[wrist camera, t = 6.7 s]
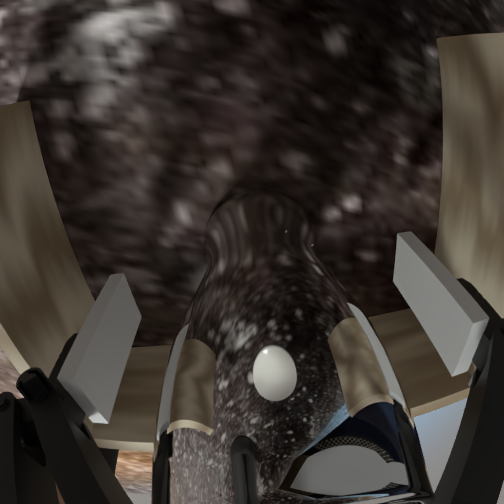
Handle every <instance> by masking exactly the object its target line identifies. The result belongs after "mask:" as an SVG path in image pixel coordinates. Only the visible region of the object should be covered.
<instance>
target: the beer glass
mask: <svg viewBox="0 0 504 504" xmlns="http://www.w3.org/2000/svg"><path fill="white" fill-rule="evenodd" d="M204 251H205V257H206V262H207V269H206V272H205V274H204V276H203V279H202V281H201V283H200V285H199V286H198V288H197V290H196V292H195V294H194V296H193V298H192V300H191V302H190V304H189V306H188V309H187V311H186V313H185V315H184V317H183V319H182V321H181V324H180V326H179V329H178V331H177V334H176V337H175V339H174V342H173V344H172V347H171V350H170V352H169V356H168V360H167V364H166V368H165V372H164V376H163V380H162V385H161V389H160V394H159V401H158V408H157V415H156V422H155V430H154V443H153V458H152V491H151V504H433V503H434V501H435V494H434V493H433V491H432V487H431V483H430V480H429V476H428V472H427V468H426V464H425V460H424V456H423V452H422V448H421V444H420V440H419V436H418V433H417V429H416V426H415V423H414V419H413V416H412V413H411V409H410V406H409V403H408V400H407V397H406V395H405V392H404V389H403V387H402V384H401V382H400V379H399V377H398V374H397V372H396V369H395V367H394V364H393V362H392V360H391V358H390V356H389V354H388V352H387V350H386V348H385V346H384V344H383V342H382V341H381V339H380V337H379V335H378V333H377V331H376V329H375V328H374V326H373V324H372V323H371V321H370V320H369V319H368V317H367V316H366V314H365V313H364V312H363V310H362V309H361V307H360V306H359V305H358V303H357V302H356V300H355V299H354V298H353V296H352V295H351V294H350V293H349V292H348V290H347V289H346V288H345V287H344V286H343V285H342V283H341V282H340V281H339V280H338V279H337V277H336V276H335V275H334V274H333V273H332V272H331V271H330V270H329V269H328V267H327V266H326V265H325V264H324V263H323V262H322V260H321V259H320V258H319V257H318V255H317V253H316V250H315V237H314V231H313V227H312V224H311V221H310V219H309V217H308V216H307V214H306V212H305V211H304V210H303V209H302V208H301V207H300V206H299V205H298V204H297V203H296V202H295V201H293V200H292V199H290V198H289V197H287V196H285V195H282V194H280V193H277V192H273V191H266V190H256V191H248V192H244V193H241V194H238V195H236V196H234V197H232V198H230V199H228V200H227V201H225V202H224V203H223V204H222V205H221V206H220V207H219V208H218V209H217V210H216V211H215V212H214V213H213V215H212V216H211V218H210V220H209V222H208V224H207V227H206V230H205V235H204Z"/></svg>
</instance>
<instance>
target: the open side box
mask: <svg viewBox="0 0 504 504" xmlns="http://www.w3.org/2000/svg"><path fill="white" fill-rule="evenodd" d="M436 39H437V46H438V54H439V64H440V74H441V88H442V106H443V166H442V185H441V199H440V211H439V220H438V229H437V237H436V245H435V252H434V255H435V256H436V257H437V258H438V260H439V261H440V262H441V263H442V264H443V265H444V266H445V267H446V268H447V269H448V270H449V271H450V273H451V274H452V275H453V276H454V277H455V278H456V279H458V278H463V279H465V280H467V281H468V282H470V283H472V285H473V286H474V287H475V288H476V289H477V290H478V292H480V293H481V295H482V296H483V298H485V299H486V300H487V301H488V303H489V304H490V305H491V306H492V307H493V308H494V310H495V311H496V312H497V313H498V314H499V316H500V317H501V318H504V33H487V34H472V35H461V36H451V37H442V38H436ZM94 303H95V300H94V298H93V296H92V294H91V291H90V289H89V287H88V285H87V282H86V280H85V278H84V276H83V273H82V271H81V268H80V266H79V264H78V261H77V259H76V256H75V254H74V251H73V249H72V246H71V244H70V241H69V238H68V236H67V233H66V230H65V228H64V225H63V222H62V219H61V216H60V214H59V211H58V208H57V205H56V202H55V199H54V196H53V192H52V189H51V186H50V183H49V179H48V176H47V172H46V169H45V165H44V162H43V158H42V154H41V150H40V146H39V142H38V138H37V134H36V130H35V125H34V120H33V116H32V111H31V106H30V100H29V101H23V102H18V103H13V104H8V105H3V106H0V346H1V348H2V349H3V351H4V352H5V354H6V355H7V357H8V358H9V359H10V361H11V362H12V364H13V365H14V366H15V368H16V369H17V370H18V372H19V373H20V374H22V373H23V372H24V371H26V370H27V369H30V368H32V367H38V368H40V369H41V370H42V371H43V372H44V374H45V375H46V376H47V378H49V376H50V374H51V371H52V369H53V367H54V365H55V363H56V361H57V359H59V355H60V353H61V352H62V349H63V347H64V345H65V343H66V341H67V340H68V339H69V338H70V337H71V336H72V335H73V334H74V333H79V331H80V329H81V327H82V326H83V324H84V322H85V320H86V318H87V316H88V314H89V312H90V310H91V308H92V307H93V305H94ZM368 319H369V320H370V321H371V323H372V324H373V326H374V328H375V329H376V331H377V333H378V335H379V337H380V339H381V341H382V342H383V344H384V346H385V348H386V350H387V352H388V354H389V356H390V358H391V360H392V362H393V364H394V367H395V369H396V372H397V374H398V377H399V379H400V382H401V384H402V387H403V389H404V392H405V395H406V397H407V400H408V403H409V406H410V409H411V413H412V416H413V417H416V416H419V415H422V414H425V413H428V412H431V411H433V410H436V409H439V408H442V407H444V406H447V405H450V404H452V403H455V402H458V401H460V400H462V399H465V398H467V397H468V395H469V391H470V387H471V385H470V386H469V385H468V383H469V381H470V379H471V377H472V375H473V373H474V371H475V369H476V366H475V364H474V363H473V361H472V362H471V364H470V366H469V369H468V371H466V372H464V373H461V374H458V375H456V376H453V377H452V376H451V374H450V372H449V371H448V369H447V367H446V365H445V363H444V362H443V360H442V358H441V357H440V355H439V353H438V351H437V350H436V348H435V346H434V345H433V343H432V341H431V340H430V338H429V336H428V335H427V333H426V332H425V330H424V328H423V327H422V325H421V324H420V322H419V320H418V319H417V317H416V316H415V314H414V312H413V311H412V309H411V308H409V309H404V310H400V311H395V312H391V313H386V314H381V315H377V316H372V317H368ZM171 347H172V345H161V346H147V347H131V350H130V354H129V357H128V360H127V363H126V366H125V369H124V373H123V376H122V379H121V382H120V386H119V389H118V392H117V396H116V399H115V403H114V406H113V410H112V413H111V417H110V421H109V424H105V423H93V422H92V421H91V420H90V419H89V418H88V416H87V415H85V418H84V421H83V422H84V423H85V424H86V425H87V427H88V429H89V431H90V433H91V435H92V437H93V438H94V440H95V442H96V444H97V446H98V447H100V448H109V449H119V450H131V451H146V452H153V443H154V430H155V422H156V415H157V408H158V401H159V394H160V389H161V385H162V380H163V376H164V372H165V368H166V364H167V360H168V356H169V352H170V350H171Z"/></svg>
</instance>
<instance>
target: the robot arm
mask: <svg viewBox="0 0 504 504" xmlns="http://www.w3.org/2000/svg"><path fill="white" fill-rule="evenodd" d="M393 282H394V284H395V285H396V287H397V288H398V290H399V291H400V293H401V294H402V296H403V297H404V299H405V300H406V302H407V303H408V305H409V306H410V308H411V309H412V311H413V312H414V314H415V316H416V317H417V319H418V320H419V322H420V324H421V325H422V327H423V328H424V330H425V332H426V333H427V335H428V336H429V338H430V340H431V341H432V343H433V345H434V346H435V348H436V350H437V351H438V353H439V355H440V357H441V358H442V360H443V362H444V363H445V365H446V367H447V369H448V371H449V372H450V374H451V376H452V377H453V376H456V375H458V374H461V373H464V372H466V371H468V369H469V366H470V364H471V362H472V361H473V363H474V364H475V366H476V369H475V371H474V373H473V375H472V377H471V379H470V381H469V383H468V385H469V386H470V385H471V387H470V391H469V395H468V399H467V403H466V407H465V410H464V414H463V417H462V420H461V424H460V427H459V430H458V433H457V436H456V439H455V442H454V445H453V448H452V451H451V454H450V457H449V459H448V462H447V464H446V467H445V470H444V472H443V475H442V477H441V480H440V482H439V484H438V486H437V489H436V491H435V493H434V494H435V501H434V503H433V504H496V503H497V500H498V497H499V494H500V491H501V488H502V484H503V481H504V318H501V317H500V316H499V314H498V313H497V312H496V311H495V310H494V308H493V307H492V306H491V305H490V304H489V303H488V301H487V300H486V299H485V298H483V296H482V295H481V293H480V292H478V290H477V289H476V288H475V287H474V286H473V285H472V283H470V282H468V281H467V280H465V279H463V278H458V279H456V278H455V277H454V276H453V275H452V274H451V273H450V271H449V270H448V269H447V268H446V267H445V266H444V265H443V264H442V263H441V262H440V261H439V260H438V258H437V257H436V256H435V255H434V254H433V253H432V252H431V251H430V250H429V249H428V248H427V247H426V246H425V245H424V244H423V243H422V242H421V241H420V240H419V239H418V238H417V237H416V236H415V235H414V234H413V233H412V232H411V231H410V232H403V233H397V245H396V257H395V267H394V276H393ZM141 318H142V316H141V314H140V312H139V309H138V307H137V305H136V302H135V300H134V297H133V295H132V292H131V290H130V287H129V285H128V282H127V280H126V277H125V275H124V273H119V274H112V275H110V276H109V278H108V280H107V281H106V283H105V285H104V287H103V288H102V290H101V292H100V294H99V296H98V297H97V299H96V301H95V303H94V305H93V307H92V308H91V310H90V312H89V314H88V316H87V318H86V320H85V322H84V324H83V326H82V327H81V329H80V331H79V333H74V334H73V335H72V336H71V337H70V338H69V339H68V340H67V341H66V343H65V345H64V347H63V349H62V352H61V353H60V355H59V359H57V361H56V363H55V365H54V367H53V369H52V371H51V374H50V376H49V378H47V376H46V375H45V374H44V372H43V371H42V370H41V369H40V368H38V367H32V368H30V369H27V370H26V371H24V372H23V373H22V374H21V375H20V377H19V378H18V380H17V383H16V388H17V389H18V390H19V391H20V393H21V394H22V395H23V396H24V397H25V398H21V399H16V397H15V396H14V395H13V394H12V393H11V392H3V393H1V394H0V504H59V499H58V494H57V489H56V485H57V487H58V489H59V492H60V494H61V496H62V498H63V500H64V503H65V504H133V503H132V501H131V500H130V498H129V497H128V496H127V494H126V492H125V491H124V489H123V488H122V486H121V485H120V483H119V482H118V480H117V478H116V477H115V475H114V474H113V472H112V470H111V469H110V467H109V465H108V464H107V462H106V460H105V458H104V457H103V455H102V453H101V451H100V449H99V448H98V446H97V444H96V442H95V440H94V438H93V437H92V435H91V433H90V431H89V429H88V427H87V425H86V424H85V423H84V422H83V421H84V418H85V415H87V416H88V418H89V419H90V420H91V421H92V422H93V423H105V424H109V421H110V417H111V413H112V410H113V406H114V403H115V399H116V396H117V392H118V389H119V386H120V382H121V379H122V376H123V373H124V369H125V366H126V363H127V360H128V357H129V354H130V350H131V347H132V344H133V341H134V338H135V335H136V332H137V329H138V326H139V324H140V321H141ZM55 482H56V483H55Z"/></svg>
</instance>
